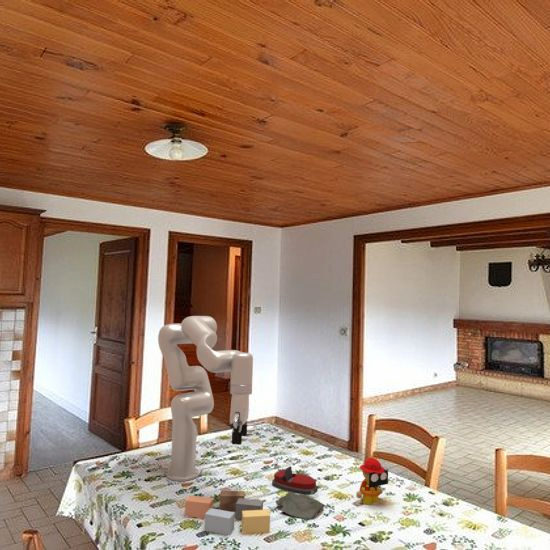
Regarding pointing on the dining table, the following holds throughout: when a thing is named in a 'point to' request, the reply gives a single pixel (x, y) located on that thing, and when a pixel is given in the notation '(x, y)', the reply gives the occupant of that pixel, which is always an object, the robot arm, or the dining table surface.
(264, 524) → the ochre brick
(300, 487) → the bumper car
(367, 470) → the toy
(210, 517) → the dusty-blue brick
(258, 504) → the charcoal brick
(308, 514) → the artifact
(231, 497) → the walnut brick
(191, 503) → the terracotta brick
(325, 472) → the dining table surface
